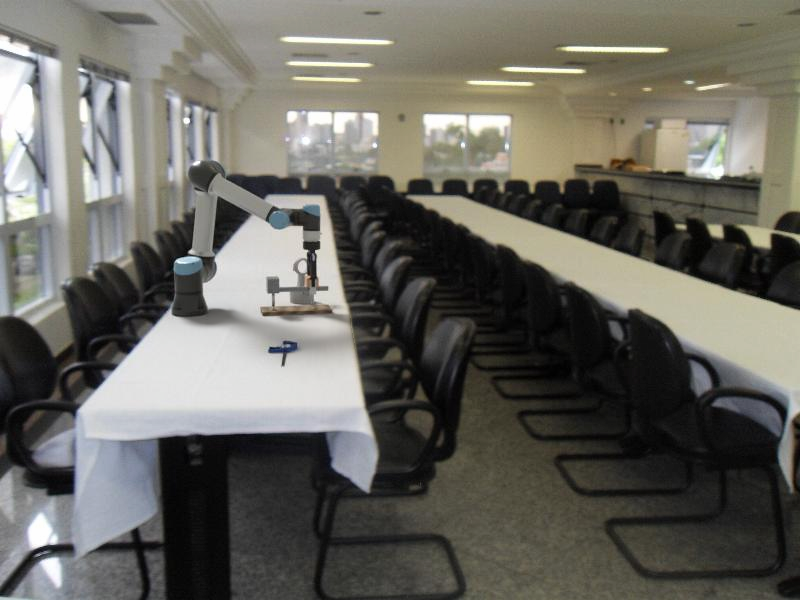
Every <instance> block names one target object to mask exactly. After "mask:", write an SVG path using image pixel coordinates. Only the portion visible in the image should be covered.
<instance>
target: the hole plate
mask: <svg viewBox="0 0 800 600" xmlns="http://www.w3.org/2000/svg"><path fill="white" fill-rule="evenodd" d="M260 313H261V316H262V317H263V316H267V315H268V316H289V315H290V316H292V315H294V316H295V315H321V314H322V315H323V314H324V315H326V314H328V315H329V314H333V308H332V307H331V306H330V305H329V304H314V305H313V307H312V305H311V304H310V305H307V304H306V305H305V304H304V305H303V304H300V305H275V306H274V310H273V306H272V305H271V306H270V305H269V306H260Z"/></svg>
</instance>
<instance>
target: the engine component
mask: <svg viewBox="0 0 800 600" xmlns="http://www.w3.org/2000/svg"><path fill="white" fill-rule="evenodd" d="M302 261H303V262H305V263H306V265H307V257H306V258H305V257H298V258H297V259H296V260H295V261H294V263H293V265H292V266H293V267H292V271H293V272H295V273H296V274H297V284H296V285H297V286H296V287H305V286H306V285H305V276H307V266H306V268H305V270H304V271H302V272H301V271H300V270H299V263H301V262H302ZM289 303H290V304H297V305H303V304H304V305H305V304H311V295H310V291H298V292H289Z"/></svg>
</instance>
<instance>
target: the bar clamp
mask: <svg viewBox="0 0 800 600" xmlns="http://www.w3.org/2000/svg"><path fill="white" fill-rule="evenodd" d="M297 349H298V342H295V341H292V340H283V341H282V343H281V344H280V345H279V346H269V347H268V349H267V350H268V351H267V352H268V353H270V354H275V353H276V354H277V353H282V360H281V366H280V367H281V368H282V367H285V363H286V356H287V355H286V354H287V353H291V352H294V351H296V350H297Z"/></svg>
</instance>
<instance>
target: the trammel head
mask: <svg viewBox="0 0 800 600" xmlns="http://www.w3.org/2000/svg"><path fill="white" fill-rule="evenodd" d="M309 278H310V276H307V275H305V286H306V287H307V288H308V287H310V280H309ZM319 280H320V278H319V276H317V279H316V287H319V286H320V285H319V282H320V281H319ZM314 295H315V294H313V295H311V302H310V305H312V307H313V305H315V296H314Z"/></svg>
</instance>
